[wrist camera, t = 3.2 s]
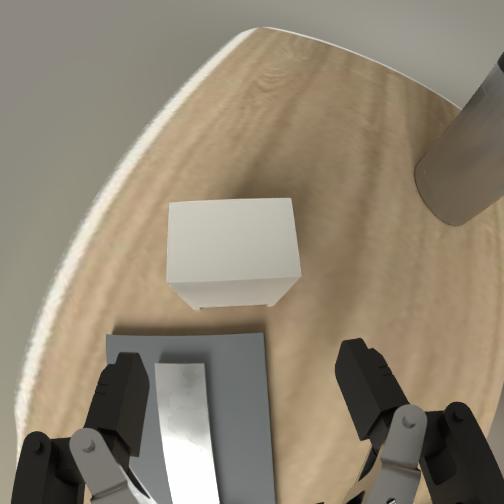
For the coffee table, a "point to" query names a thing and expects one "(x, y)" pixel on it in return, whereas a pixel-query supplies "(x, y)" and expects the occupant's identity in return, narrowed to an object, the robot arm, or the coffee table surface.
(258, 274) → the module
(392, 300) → the coffee table surface
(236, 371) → the rail board
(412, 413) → the robot arm
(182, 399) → the rail
